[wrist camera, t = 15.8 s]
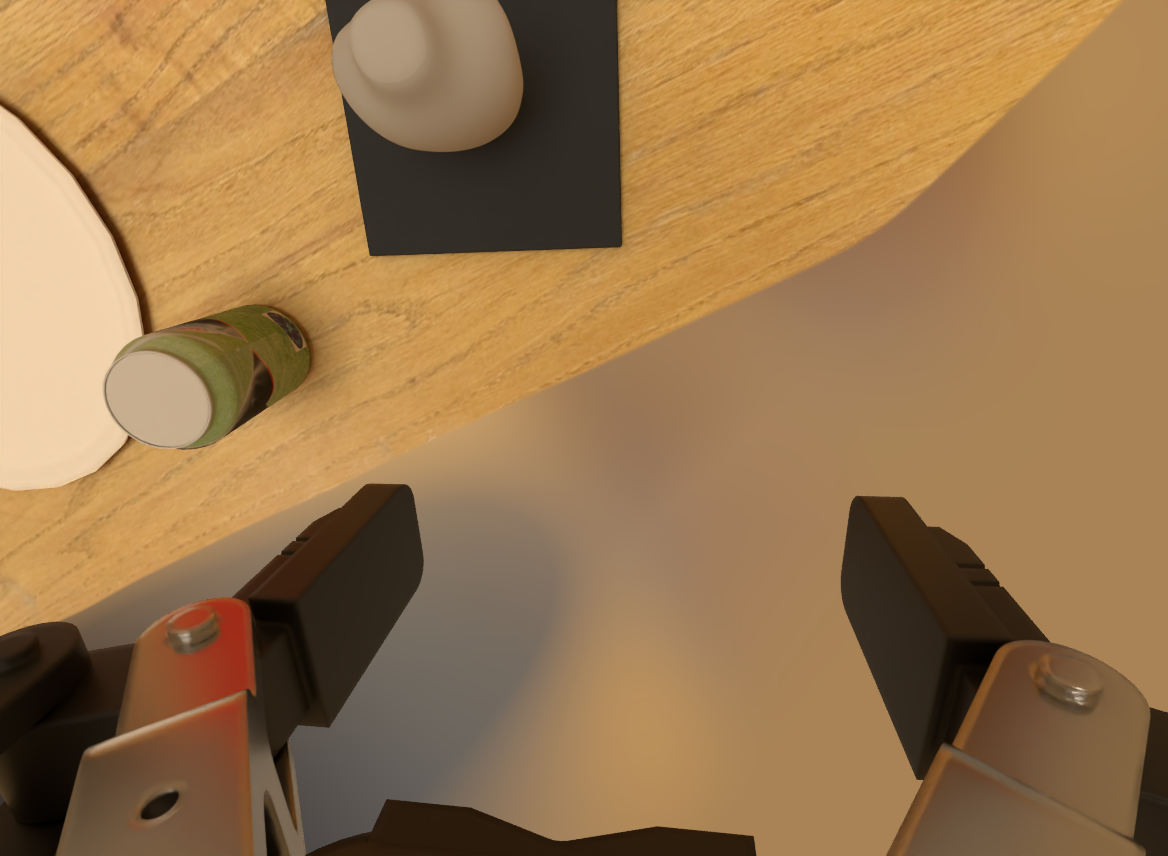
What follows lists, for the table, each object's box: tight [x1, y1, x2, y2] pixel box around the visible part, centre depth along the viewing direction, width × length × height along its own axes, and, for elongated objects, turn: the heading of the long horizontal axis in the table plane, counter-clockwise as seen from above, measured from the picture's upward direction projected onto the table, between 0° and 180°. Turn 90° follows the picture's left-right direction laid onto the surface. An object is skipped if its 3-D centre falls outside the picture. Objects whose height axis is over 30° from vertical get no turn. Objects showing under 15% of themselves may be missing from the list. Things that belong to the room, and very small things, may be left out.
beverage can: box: [103, 305, 310, 450], centre depth 34 cm, size 6×7×12 cm
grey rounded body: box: [332, 0, 523, 152], centre depth 26 cm, size 8×5×12 cm
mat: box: [325, 0, 622, 256], centre depth 32 cm, size 15×15×1 cm
